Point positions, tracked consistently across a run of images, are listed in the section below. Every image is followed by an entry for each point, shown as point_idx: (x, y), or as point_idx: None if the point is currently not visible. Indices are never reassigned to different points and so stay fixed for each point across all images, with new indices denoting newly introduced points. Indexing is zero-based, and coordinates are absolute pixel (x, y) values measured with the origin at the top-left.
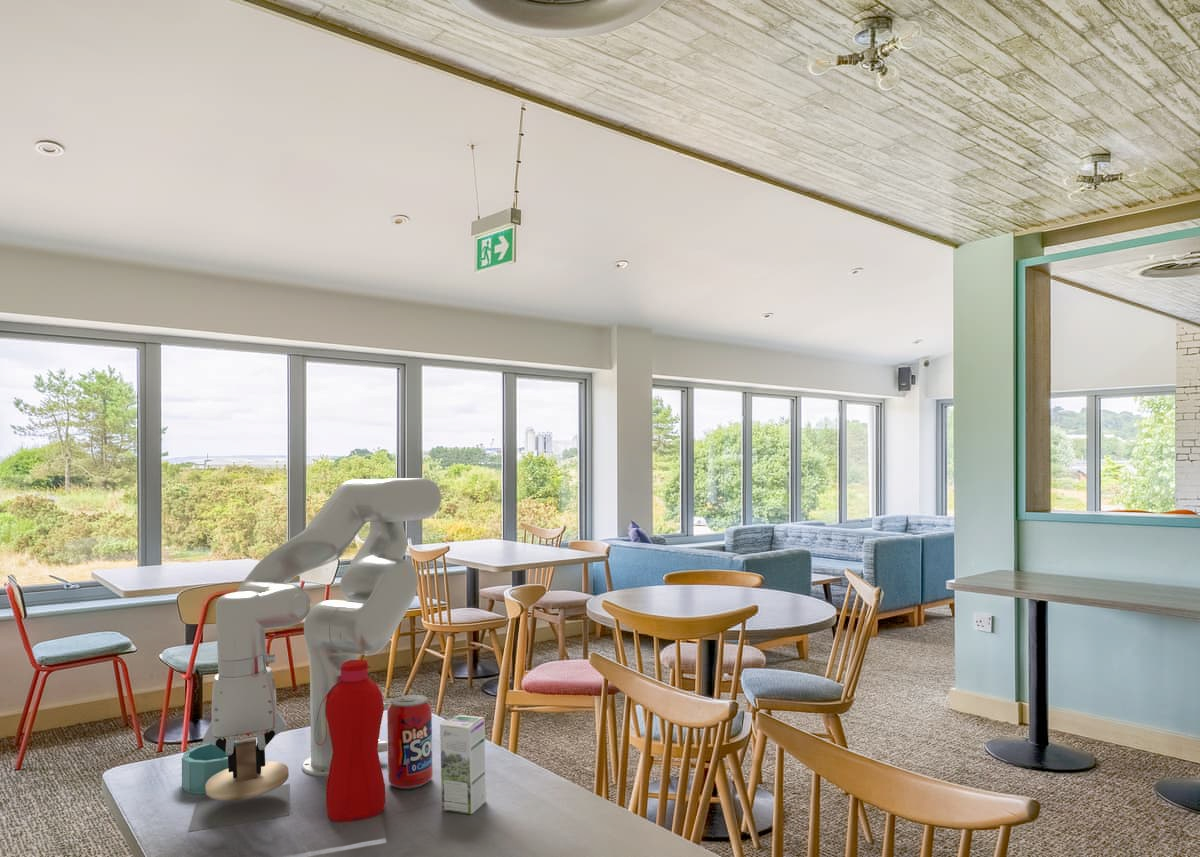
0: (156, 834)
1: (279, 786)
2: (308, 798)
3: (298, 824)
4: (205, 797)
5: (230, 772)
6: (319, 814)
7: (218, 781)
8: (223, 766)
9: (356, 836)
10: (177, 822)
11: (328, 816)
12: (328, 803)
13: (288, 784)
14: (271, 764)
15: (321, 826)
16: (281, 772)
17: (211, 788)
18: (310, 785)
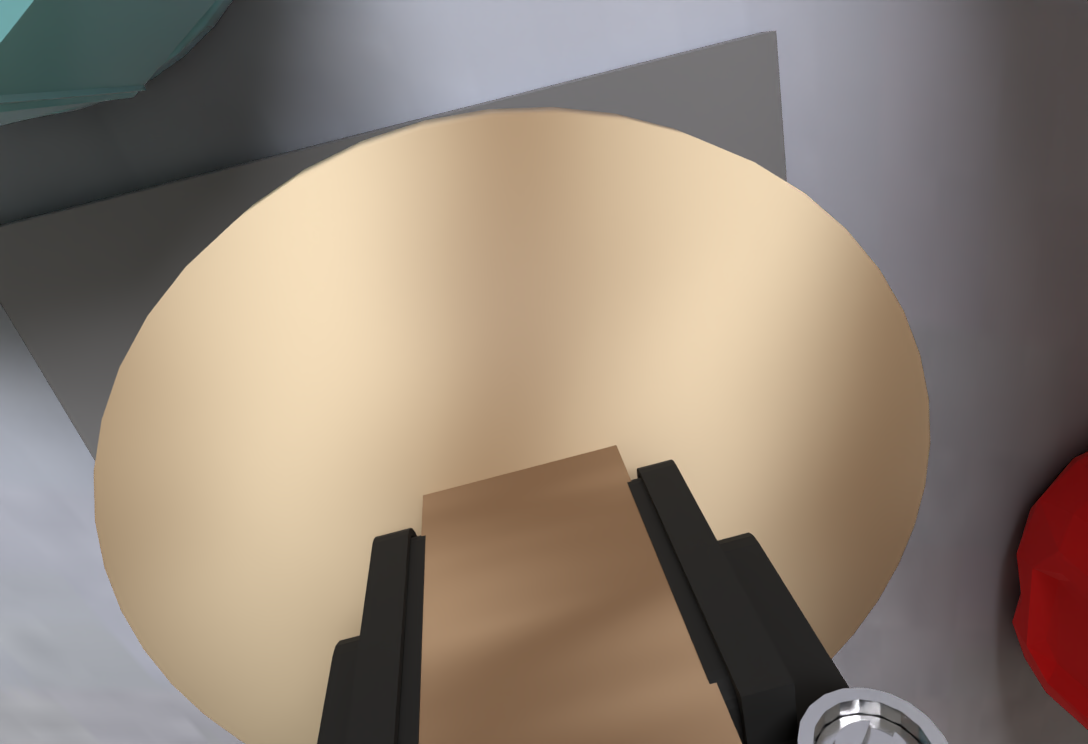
0: (47, 719)
1: (691, 85)
2: (908, 304)
3: (853, 635)
4: (47, 241)
5: (283, 412)
6: (959, 537)
7: (257, 605)
8: (17, 103)
9: (1085, 734)
10: (79, 585)
11: (1014, 626)
12: (1082, 719)
13: (766, 49)
14: (743, 266)
15: (959, 656)
16: (863, 493)
17: (268, 724)
18: (930, 24)
